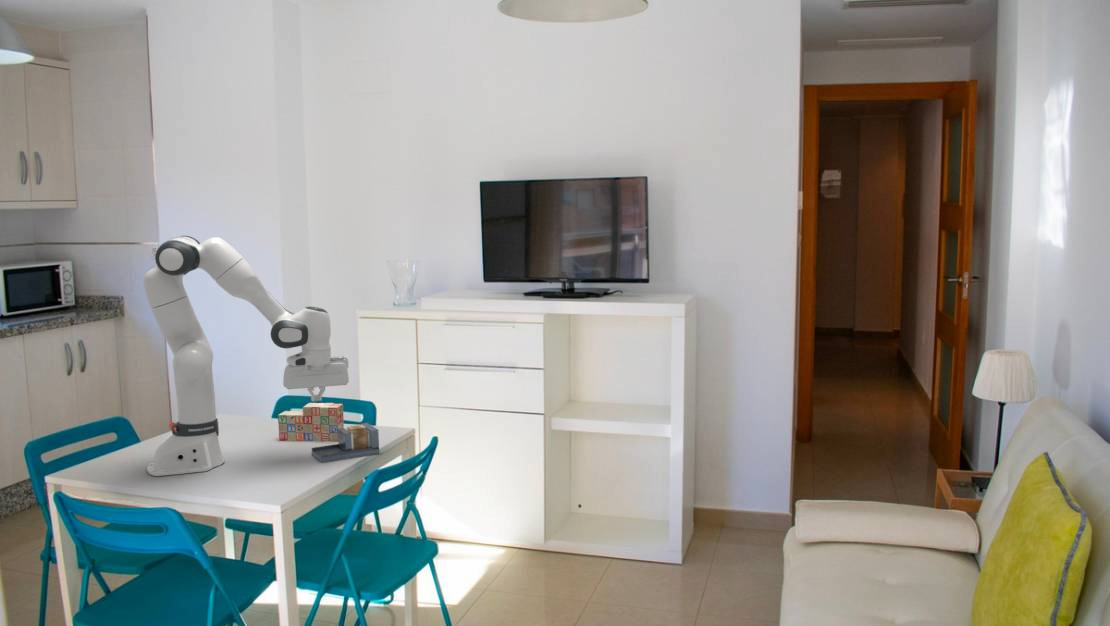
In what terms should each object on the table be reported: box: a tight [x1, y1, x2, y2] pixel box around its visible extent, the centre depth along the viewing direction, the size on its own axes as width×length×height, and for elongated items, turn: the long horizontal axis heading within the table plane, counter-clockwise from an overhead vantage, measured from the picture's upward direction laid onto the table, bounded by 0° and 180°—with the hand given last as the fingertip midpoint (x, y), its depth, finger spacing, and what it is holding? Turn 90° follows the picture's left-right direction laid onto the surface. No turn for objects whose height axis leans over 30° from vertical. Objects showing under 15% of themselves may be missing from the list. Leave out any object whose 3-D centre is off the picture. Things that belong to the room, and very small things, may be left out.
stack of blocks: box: [277, 402, 345, 443], centre depth 316 cm, size 21×6×12 cm, turn 84°
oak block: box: [346, 424, 367, 450], centre depth 298 cm, size 5×4×7 cm
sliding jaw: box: [337, 428, 354, 451], centre depth 296 cm, size 2×8×6 cm, turn 30°
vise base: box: [311, 422, 380, 463], centre depth 296 cm, size 19×11×8 cm, turn 120°
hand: (316, 400), depth 290 cm, fingers closed
